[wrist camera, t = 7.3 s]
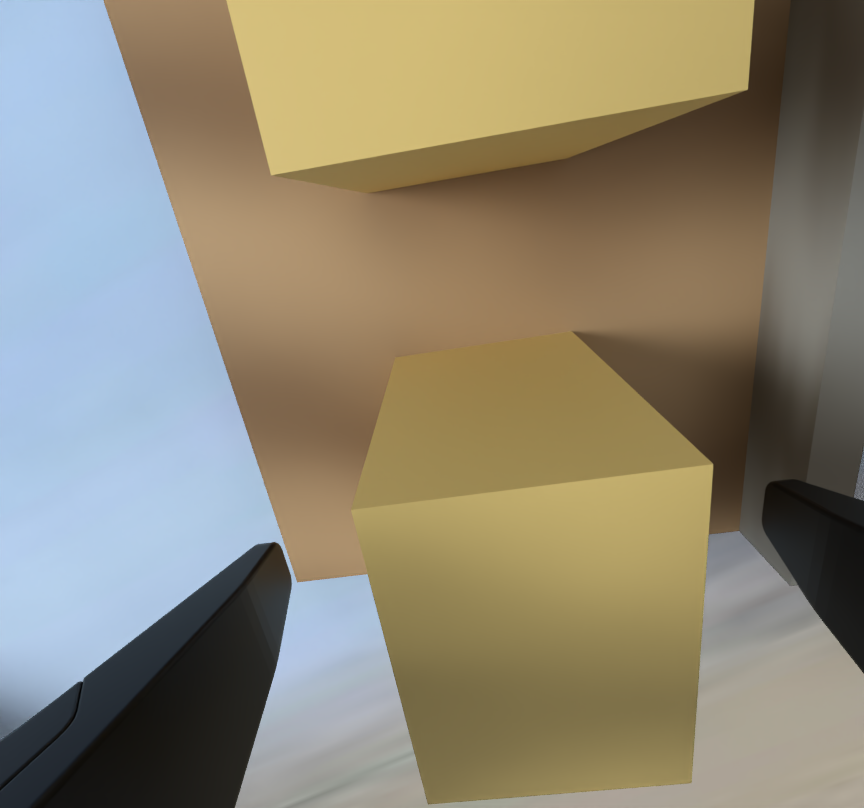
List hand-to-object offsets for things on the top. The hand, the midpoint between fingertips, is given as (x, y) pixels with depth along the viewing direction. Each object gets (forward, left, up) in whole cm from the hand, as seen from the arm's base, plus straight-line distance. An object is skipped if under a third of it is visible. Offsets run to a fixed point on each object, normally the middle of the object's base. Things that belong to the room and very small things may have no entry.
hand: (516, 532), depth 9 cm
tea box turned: (0, 0, -3) cm, 3 cm away
